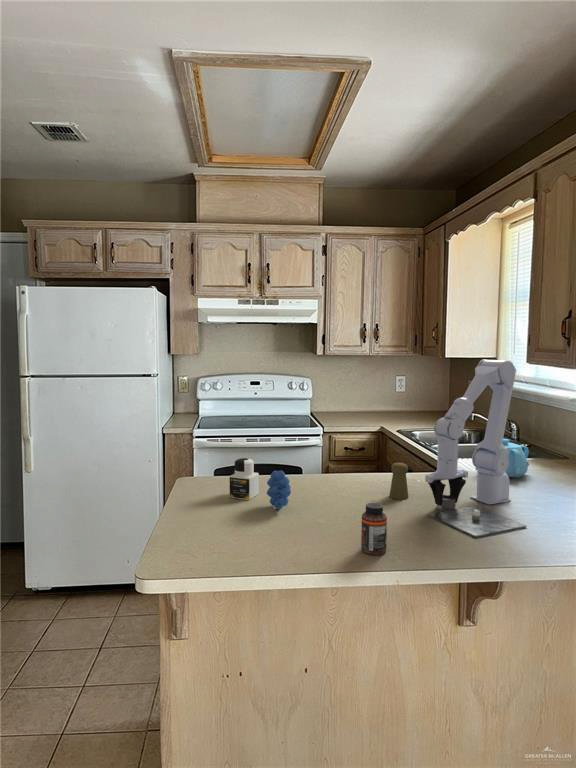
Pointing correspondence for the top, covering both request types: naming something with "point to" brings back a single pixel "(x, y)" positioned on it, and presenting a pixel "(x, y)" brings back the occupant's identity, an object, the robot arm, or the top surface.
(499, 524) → the stand
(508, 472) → the decorative pot
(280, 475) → the grapes
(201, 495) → the top surface
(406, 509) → the top surface
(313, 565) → the top surface
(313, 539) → the top surface
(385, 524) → the supplement bottle
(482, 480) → the robot arm
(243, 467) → the medicine bottle
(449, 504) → the ring
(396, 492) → the cork
